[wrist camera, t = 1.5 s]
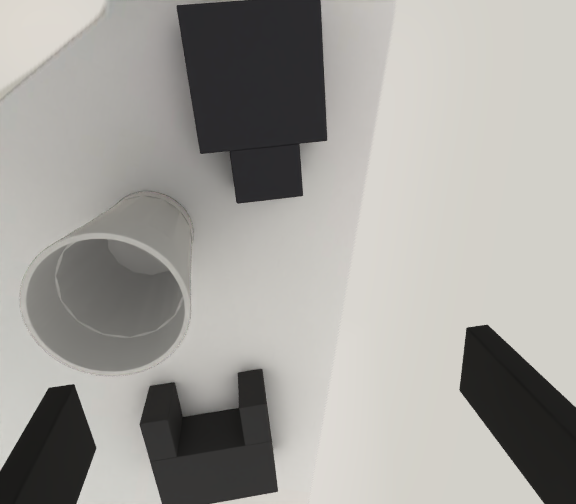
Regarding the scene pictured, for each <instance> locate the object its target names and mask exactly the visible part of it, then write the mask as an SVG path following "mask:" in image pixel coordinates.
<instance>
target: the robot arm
mask: <svg viewBox="0 0 576 504" xmlns="http://www.w3.org/2000/svg"><path fill="white" fill-rule="evenodd" d="M460 392H461V393H462V394H463V396H464V397H465V398H466V399H467V401H468V402H469V404H470V405H471V406H472V407H473V409H474V410H475V411H476V413H477V414H478V416H479V417H480V418H481V419H482V421H483V422H484V423H485V425H486V426H487V428H488V429H489V430H490V432H491V433H492V434H493V436H494V437H495V438H496V439H497V441H498V442H499V443H500V445H501V446H502V448H503V449H504V450H505V452H506V453H507V454H508V456H509V457H510V458H511V460H512V461H513V462H514V464H515V465H516V466H517V468H518V469H519V470H520V472H521V473H522V474H523V476H524V477H525V478H526V479H527V481H528V482H529V484H530V485H531V486H532V488H533V489H534V490H535V492H536V493H537V494H538V496H539V497H540V498H541V500H542V501H543V502H544V504H576V407H575V406H573V405H572V404H571V403H570V402H569V401H568V400H567V399H566V398H565V397H564V396H563V395H562V394H561V393H560V392H559V391H557V390H556V389H555V388H554V387H553V386H552V385H551V384H550V383H549V382H548V381H547V380H546V379H545V378H543V376H542V375H540V374H539V373H538V372H537V371H536V370H535V369H534V368H533V367H532V366H531V365H529V363H528V362H526V361H525V360H524V359H523V358H522V357H521V356H520V355H519V354H518V353H517V352H516V351H515V350H514V349H513V348H512V347H511V346H510V345H509V344H507V343H506V342H505V341H504V340H503V339H502V338H501V337H500V336H499V335H498V334H497V333H496V332H495V331H494V330H492V329H491V328H490V327H489V326H488V325H482V326H475V327H468V328H467V329H466V339H465V347H464V355H463V364H462V373H461V382H460ZM95 450H96V446H95V443H94V440H93V437H92V434H91V431H90V428H89V425H88V423H87V420H86V417H85V414H84V411H83V408H82V405H81V403H80V400H79V397H78V394H77V391H76V388H75V385H74V384H73V385H66V386H59V387H52V388H49V389H48V390H47V392H46V394H45V395H44V397H43V399H42V401H41V402H40V404H39V406H38V407H37V409H36V411H35V413H34V414H33V416H32V418H31V419H30V421H29V423H28V425H27V426H26V428H25V430H24V431H23V433H22V435H21V437H20V438H19V440H18V442H17V443H16V445H15V447H14V449H13V450H12V452H11V454H10V455H9V457H8V459H7V461H6V462H5V464H4V466H3V467H2V469H1V471H0V504H76V503H77V500H78V498H79V495H80V492H81V489H82V487H83V484H84V481H85V478H86V475H87V473H88V470H89V467H90V464H91V461H92V459H93V456H94V453H95Z"/></svg>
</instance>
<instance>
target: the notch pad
mask: <svg viewBox="0 0 576 504" xmlns="http://www.w3.org/2000/svg"><path fill="white" fill-rule="evenodd" d="M238 389H239V409H232V410H226V411H220V412H214V413H207V414H201V415H195V416H189V417H183V416H182V412H181V408H180V403H179V399H178V395H177V390H176V386H175V383H169V384H163V385H156V386H150V388H149V391H148V395H147V399H146V403H145V406H144V410H143V414H142V417H141V421H140V427H141V431H142V434H143V438H144V441H145V445H146V448H147V452H148V455H149V459H150V463H151V466H152V470H153V473H154V477H155V480H156V484H157V487H158V491H159V494H160V498H161V501H162V504H212V503H217V502H223V501H229V500H234V499H240V498H245V497H251V496H256V495H262V494H267V493H273V492H278V488H277V479H276V471H275V463H274V454H273V446H272V439H271V431H270V424H269V416H268V408H267V401H266V393H265V386H264V378H263V371H262V369H260V370H253V371H247V372H240V373H238Z"/></svg>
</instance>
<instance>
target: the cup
mask: <svg viewBox="0 0 576 504" xmlns="http://www.w3.org/2000/svg"><path fill="white" fill-rule="evenodd" d="M192 242H193V226H192V222H191V219H190V217H189V215H188V214H187V212H186V211H185V209H184V208H183V207H182V206H181V205H180V204H179V203H178V202H176V201H175V200H174V199H172V198H170V197H168V196H166V195H164V194H161V193H157V192H138V193H134V194H131V195H129V196H127V197H125V198H123V199H122V200H121V201H119V202H118V203H117V204H116V205H115V206H114V207H112V208H110V209H109V210H107V211H106V212H104V213H103V214H101V215H100V216H98V217H96V218H95V219H93V220H92V221H90V222H89V223H87V224H86V225H84V226H82V227H81V228H79V229H77V230H75V231H74V232H72V233H70V234H69V235H67V236H65V237H64V238H62V239H60V240H59V241H57V242H55V243H54V244H52V245H50V246H49V247H47V248H46V249H45V250H43V251H42V252H41V253H40V254H39V255H38V256H37V257H36V258H35V259H34V260H33V261H32V263H31V264H30V266H29V267H28V269H27V271H26V273H25V275H24V277H23V280H22V283H21V288H20V310H21V314H22V318H23V321H24V323H25V325H26V327H27V329H28V331H29V333H30V334H31V336H32V337H33V339H34V340H35V341H36V343H37V344H38V345H39V346H40V347H41V348H42V349H43V350H44V351H45V352H46V353H48V354H49V355H50V356H51V357H53V358H54V359H56V360H57V361H59V362H61V363H62V364H64V365H66V366H68V367H70V368H73V369H75V370H78V371H81V372H85V373H89V374H93V375H100V376H124V375H130V374H135V373H138V372H142V371H145V370H147V369H150V368H152V367H154V366H156V365H157V364H159V363H161V362H162V361H164V360H165V359H166V358H168V357H169V356H170V355H171V354H172V353H173V352H174V351H175V350H176V349H177V348H178V346H179V345H180V343H181V342H182V340H183V339H184V337H185V335H186V332H187V330H188V327H189V323H190V317H191V250H192Z"/></svg>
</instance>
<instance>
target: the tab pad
mask: <svg viewBox="0 0 576 504" xmlns="http://www.w3.org/2000/svg"><path fill="white" fill-rule="evenodd" d="M177 12H178V19H179V25H180V31H181V37H182V43H183V49H184V56H185V62H186V68H187V74H188V80H189V86H190V93H191V99H192V105H193V111H194V117H195V124H196V130H197V136H198V142H199V148H200V153H201V154H204V153H214V152H223V151H230V158H231V165H232V173H233V180H234V187H235V195H236V202H237V203H247V202H255V201H264V200H272V199H281V198H290V197H298V196H303V189H302V175H301V161H300V147H299V144H300V143H309V142H319V141H327V127H326V106H325V85H324V64H323V43H322V22H321V1H320V0H245V1H231V2H217V3H203V4H189V5H177Z"/></svg>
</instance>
